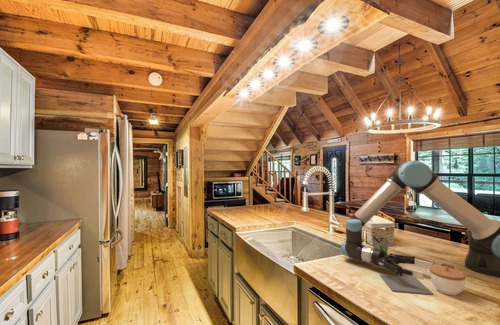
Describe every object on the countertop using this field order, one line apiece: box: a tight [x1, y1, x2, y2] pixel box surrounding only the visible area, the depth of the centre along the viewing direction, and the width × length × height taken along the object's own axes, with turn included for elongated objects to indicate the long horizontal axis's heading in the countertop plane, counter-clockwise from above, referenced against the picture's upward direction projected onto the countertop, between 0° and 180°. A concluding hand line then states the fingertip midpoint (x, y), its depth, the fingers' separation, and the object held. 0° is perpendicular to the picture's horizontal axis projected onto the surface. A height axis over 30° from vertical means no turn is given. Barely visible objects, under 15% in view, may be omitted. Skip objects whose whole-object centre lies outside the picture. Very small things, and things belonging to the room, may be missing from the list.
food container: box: [372, 235, 389, 255], centre depth 126 cm, size 12×6×10 cm, turn 168°
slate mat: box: [379, 273, 434, 296], centre depth 97 cm, size 14×14×1 cm
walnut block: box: [439, 263, 455, 269], centre depth 105 cm, size 4×4×4 cm
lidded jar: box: [429, 265, 467, 296], centre depth 91 cm, size 11×11×9 cm
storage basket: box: [362, 214, 396, 247], centre depth 155 cm, size 24×16×15 cm
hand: (428, 271), depth 95 cm, fingers open, 13 cm apart
